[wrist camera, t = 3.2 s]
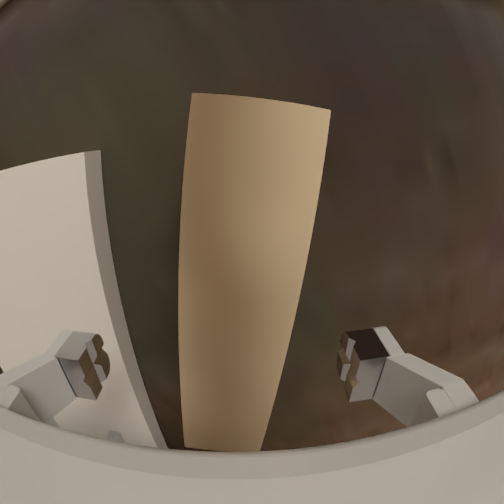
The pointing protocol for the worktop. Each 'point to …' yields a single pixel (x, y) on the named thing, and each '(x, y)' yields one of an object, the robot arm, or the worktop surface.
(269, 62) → the worktop surface
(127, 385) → the bracket
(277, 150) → the rail
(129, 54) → the worktop surface
